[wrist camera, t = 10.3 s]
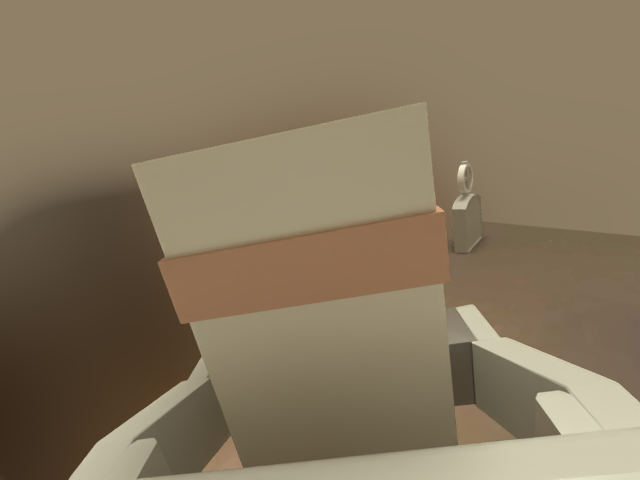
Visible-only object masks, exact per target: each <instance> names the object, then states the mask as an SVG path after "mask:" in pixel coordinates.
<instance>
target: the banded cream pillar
mask: <svg viewBox="0 0 640 480" xmlns="http://www.w3.org/2000/svg"><path fill="white" fill-rule="evenodd" d="M131 166H132V169H133V171H134V174H135V177H136V179H137V182H138V185H139V188H140V190H141V193H142V196H143V198H144V201H145V204H146V207H147V209H148V212H149V215H150V217H151V220H152V223H153V225H154V228H155V231H156V234H157V236H158V239H159V242H160V244H161V247H162V250H163V252H164V255H165V257H164V258H163V259H162V260H160V261H159V262H158V265H159V268H160V270H161V273H162V276H163V278H164V281H165V284H166V286H167V289H168V291H169V294H170V297H171V299H172V302H173V305H174V307H175V310H176V313H177V315H178V317H179V320H180V323H181V324H183V323H190V325H191V328H192V331H193V333H194V336H195V339H196V342H197V344H198V347H199V350H200V352H201V355H202V358H203V361H204V363H205V366H206V369H207V371H208V374H209V377H210V379H211V382H212V385H213V388H214V390H215V393H216V396H217V398H218V401H219V404H220V406H221V409H222V412H223V415H224V417H225V420H226V423H227V425H228V428H229V431H230V434H231V436H232V439H233V442H234V444H235V447H236V450H237V452H238V455H239V458H240V461H241V463H242V466H243V468H246V467H256V466H266V465H275V464H285V463H294V462H304V461H313V460H323V459H332V458H342V457H351V456H361V455H370V454H379V453H389V452H399V451H409V450H418V449H428V448H438V447H448V446H457V445H458V440H457V430H456V419H455V408H454V397H453V386H452V376H451V365H450V354H449V343H448V332H447V322H446V311H445V300H444V289H443V283H449V282H451V278H450V266H449V254H448V242H447V230H446V219H445V211H443V210H442V209H441V208H440V207H438V206H437V205H436V203H435V192H434V182H433V170H432V160H431V149H430V138H429V127H428V116H427V106H426V102H421V103H417V104H412V105H407V106H403V107H398V108H393V109H389V110H383V111H379V112H374V113H370V114H365V115H361V116H355V117H351V118H346V119H341V120H337V121H332V122H327V123H323V124H318V125H313V126H309V127H305V128H299V129H295V130H290V131H286V132H281V133H276V134H272V135H267V136H262V137H257V138H252V139H248V140H243V141H239V142H234V143H229V144H224V145H220V146H216V147H210V148H206V149H201V150H196V151H192V152H187V153H182V154H178V155H173V156H168V157H164V158H159V159H154V160H149V161H145V162H140V163H135V164H131Z"/></svg>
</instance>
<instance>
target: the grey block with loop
mask: <svg viewBox="0 0 640 480" xmlns="http://www.w3.org/2000/svg"><path fill="white" fill-rule="evenodd" d="M457 180H458V188H459V190H460V192H461V193H462V195H460V196H459V197H458V198H457V199H456V201H455V202H454V205H453V207H452V218H453V234H454V249H455V252H459V253H469V252H470V251H471V250H472V249H473V247H474V246H475V245H476V244H477V243H478V242H479V241H480V240H481V239H482V218H481V197H480V195H478V194H470V191H471V188H472V184H473V169H472V166H471V165H470V164H469V161H463V162H461V166H460V167H459V170H458V178H457Z"/></svg>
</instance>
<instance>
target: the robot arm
mask: <svg viewBox="0 0 640 480" xmlns="http://www.w3.org/2000/svg"><path fill="white" fill-rule="evenodd" d="M445 311H446V322H447V332H448V343H449V354H450V365H451V376H452V386H453V397H454V406H459V405H470V404H476V406H477V407H478V408H479V409H481V410H482V411H483V412H485V413H486V414H487V415H488V416H490V417H491V418H492V419H493V420H495V421H496V422H497V423H498V424H500V425H501V426H502V427H503V428H505V429H506V430H507V431H509V432H510V433H511V434H512V435H514V436H515V437H516V438H517V439H516V440H506V441H496V442H487V443H477V444H467V445H457V446H448V447H438V448H428V449H418V450H409V451H399V452H389V453H379V454H370V455H361V456H351V457H342V458H332V459H323V460H313V461H304V462H294V463H285V464H275V465H266V466H256V467H246V468H236V469H227V470H217V471H207V472H201V471H202V470H203V469H204V467H205V466H206V465H207V464H208V463H209V461H210V460H211V459H212V458H213V457H214V455H215V454H216V453H217V452H218V450H219V449H220V448H221V447H222V446H223V444H224V443H225V442H226V441H227V440H228V438H229V437H230V436H231V434H230V431H229V428H228V425H227V423H226V420H225V417H224V415H223V412H222V409H221V406H220V404H219V401H218V398H217V396H216V393H215V390H214V388H213V385H212V382H211V379H210V377H209V374H208V371H207V369H206V366H205V363H204V361H203V358H202V357H201V359H200V361H199V363H198V364H197V366H196V367H195V369H194V371H193V372H192V374H191V376H190V377H189V379H188V381H182V382H181V383H179V384H178V385H177V386H175V387H174V388H172V389H171V390H170V391H168V392H167V393H165V394H164V395H163V396H161V397H160V398H159V399H157V400H156V401H155V402H153V403H152V404H150V405H149V406H147V407H146V408H145V409H143V410H142V411H141V412H139V413H138V414H136V415H135V416H134V417H132V418H131V419H129V420H128V421H127V422H125V423H124V424H122V425H121V426H120V427H118V428H117V429H116V430H114V431H113V432H111V433H110V434H109V435H107V436H106V437H104V438H103V439H102V440H100V441H99V442H97V443H96V445H95V446H94V447H93V448H92V450H91V451H90V452H89V454H88V455H87V456H86V458H85V459H84V460H83V461H82V463H81V464H80V465H79V467H78V468H77V469H76V471H75V472H74V473H73V474H72V476H71V477H70V478H69V480H640V402H638V401H637V400H636V399H635V398H634V397H633V396H632V395H631V394H630V393H628V392H627V391H626V390H625V389H624V388H623V387H622V386H621V385H620V384H618V383H617V382H615V381H613V380H610V379H608V378H605V377H603V376H600V375H598V374H595V373H593V372H591V371H588V370H586V369H583V368H581V367H578V366H576V365H573V364H571V363H568V362H566V361H563V360H561V359H559V358H556V357H554V356H551V355H549V354H546V353H544V352H541V351H539V350H536V349H534V348H532V347H529V346H527V345H524V344H522V343H519V342H517V341H514V340H512V339H509V338H507V337H505V338H500V337H499V335H498V334H497V333H496V332H495V330H494V329H493V328H492V327H491V325H490V324H489V323H488V322H487V321H486V319H485V318H484V317H483V316H482V314H481V313H480V312H479V311H478V309H477V308H476V307H475V306H474V305H472V304H471V305H466V306H460V307H455V308H450V309H445Z"/></svg>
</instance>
